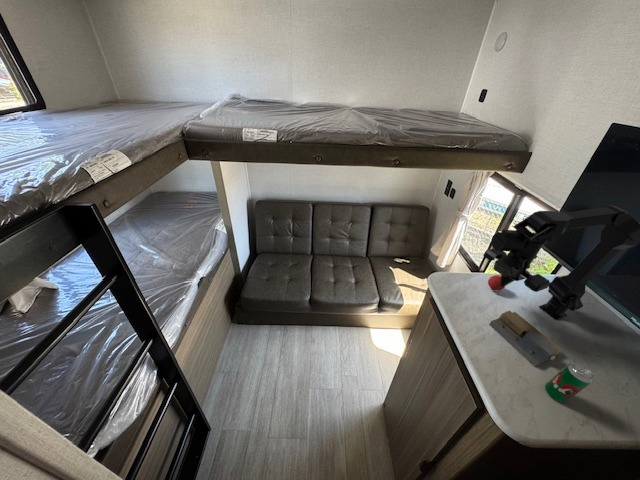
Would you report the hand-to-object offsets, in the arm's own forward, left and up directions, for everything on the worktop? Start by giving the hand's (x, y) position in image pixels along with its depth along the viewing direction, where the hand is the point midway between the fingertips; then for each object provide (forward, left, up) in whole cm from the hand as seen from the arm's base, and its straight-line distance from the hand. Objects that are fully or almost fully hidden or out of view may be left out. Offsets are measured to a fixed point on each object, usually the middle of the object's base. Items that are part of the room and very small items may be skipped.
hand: (502, 286), depth 88 cm
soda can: (+8, +28, -12) cm, 32 cm away
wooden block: (-2, +13, -12) cm, 18 cm away
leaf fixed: (+2, +14, -12) cm, 18 cm away
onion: (-11, -7, -12) cm, 18 cm away
